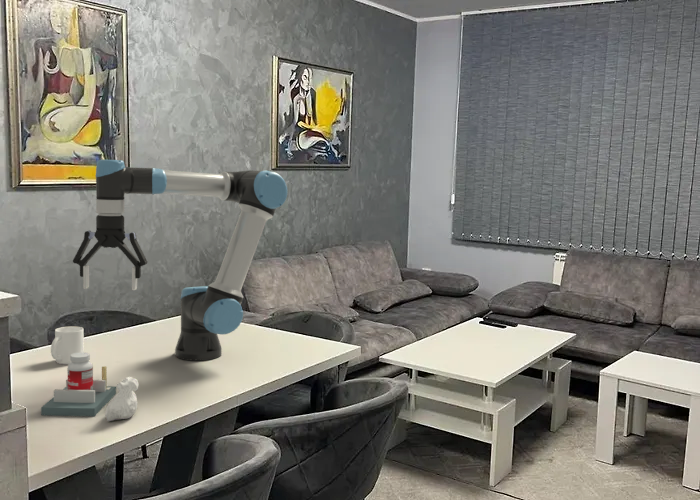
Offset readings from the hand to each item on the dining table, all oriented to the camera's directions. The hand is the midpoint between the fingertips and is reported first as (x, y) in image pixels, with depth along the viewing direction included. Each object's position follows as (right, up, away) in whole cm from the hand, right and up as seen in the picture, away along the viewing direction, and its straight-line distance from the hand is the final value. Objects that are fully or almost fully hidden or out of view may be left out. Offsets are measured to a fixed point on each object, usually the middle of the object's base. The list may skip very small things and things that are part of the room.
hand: (110, 289), depth 200 cm
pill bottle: (-2, -27, -18) cm, 33 cm away
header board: (-2, -29, -18) cm, 34 cm away
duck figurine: (+12, -31, -26) cm, 42 cm away
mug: (-21, -24, +19) cm, 37 cm away
